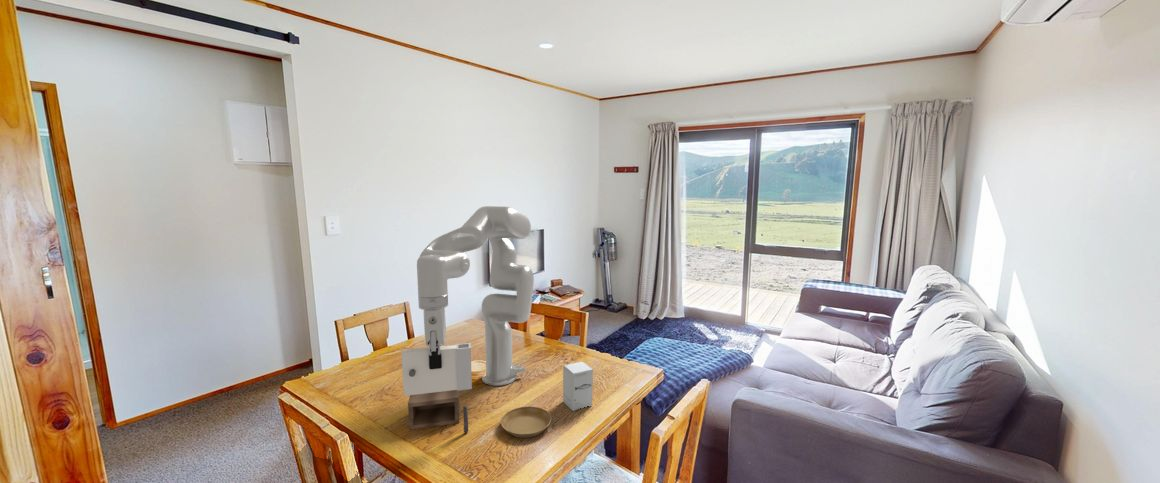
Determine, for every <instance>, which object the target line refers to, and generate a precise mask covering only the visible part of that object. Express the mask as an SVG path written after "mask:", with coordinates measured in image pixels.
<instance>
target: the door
mask: <svg viewBox="0 0 1160 483" xmlns="http://www.w3.org/2000/svg"><path fill="white" fill-rule="evenodd" d="M437 348H438V347H437ZM440 354H441V357H442V368H440V369H429V346H427V347H420V348H418V347H417V348H406V349H405V348H404V349H402V350H401V368H402V388H403V391H402V392H403V397H406V396H410V395H416V394H425V393H433V392H442V391H451V390H458V391H459V392H460V391H466V390H472V389H473V384H472V383H473V382H472V347H471V342H465V343H457V344H453V345H441V346H440Z"/></svg>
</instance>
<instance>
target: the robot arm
mask: <svg viewBox="0 0 1160 483" xmlns="http://www.w3.org/2000/svg"><path fill="white" fill-rule="evenodd" d="M468 218H469V219H467V220H466V221H465V222H464V224H463V225H462V226H460V227H459V228H455V229H454V230H452V231H448V232H447V233H444V234H442V235H439V236H438V237H436V238H434V239H433V240H432V241H431V242H430V243H429V244H428V245H427V246H426V247H425V248H424V249H423V250H422V252H421V253H420V255H419V257H418V258H417V260H416V276H417V277H416V278H417V279H416V280H417V296H418V297H417V298H418V299H417V300H418V309H420V310H423V325H424V327H423V328H424V330H423V331H424V339H425V345H426V346H427V347H429V369H440V368H442V357H441V354H440V346H445V344H446V340H447V328H446V325H447V324H446V309H445V308H447V307H448V306H449V295H448V293H449V292H448V280H450V279H457V278H461V277H464V276H465V275H466V274H467V273H468V271H469V270H470V266H471V262H470V258H469V256H468V255H467V254H466V253H468V252H470V251H474V250H477V249H480V248H481V247H482V246H483V245H484V244H485V242H486V241H487V240H489V242H490V245H491V248H492V249H491V250H492V257H491V263H490V274H489V285H490V287H491V288H492V289H495V290H497V291H509V292H516V294H507V293H506V294H505V293H489V294H488V295H486V296H485V297H484V298H483V299H482V302H481V312H482V318H483V321H484V322H483V323H484V335H485V336H484V337H485V338H484V340H485V342H484V343H485V346H484V347H485V372H486V376H485V377H482V376H481V382H483V384H485V385H489V386H493V387H494V386H495V387H497V386H499V387H500V386H505V385H509V384H511V383H513V382H515V381H516V379H517V378H518V377H517V376H518V374H520V373H522V374H523V373H526V367H525V366H523V367H522V365H515V364H514V362H513V332H512V327H511V325H510V323H517V324H518V323H519V324H522V323H525V322H527V321H528V320H529V319H530V315H531V310H532V302H533V292H534V277H535V276H534V272H533V269H532V268H531V267H530V266H527V265H525V264H516V256H517V250H516V247H515V245H514V243H513V242H512V240H524V239H526V238H527V237H529V235H530V233H531V226H532V225H531V222H530V219H529V218H528V216H527V215H525V214H523V213H522V212H520V211H519V210H517V209H516V208H512V207H511V206H492V205H491V206H489V205H488V206H487V205H486V206H481V207H479V208H478V209H476V210H475V212H474V213H473V214H472V215H471V216H470V217H468ZM437 347H438V348H437Z"/></svg>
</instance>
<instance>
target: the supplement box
mask: <svg viewBox="0 0 1160 483" xmlns="http://www.w3.org/2000/svg"><path fill="white" fill-rule="evenodd" d="M593 370H594V369H593V368H592V367H591V366H590V365H588V364H586V363H585V362H584V361H579V362H574V363H568V364H564V365H563V366H562V371H563V372H562V402H563V403H564V404H565V405H566V406H567V407H568V409H570V410H571V411H572V412H574V411H577V410H581V409H585V408H588V407H587V406H589V407H592V406H593V387H594V386H593V380H594V374H593V372H594V371H593ZM591 405H592V406H591ZM584 407H585V408H584ZM580 408H581V409H580Z"/></svg>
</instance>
